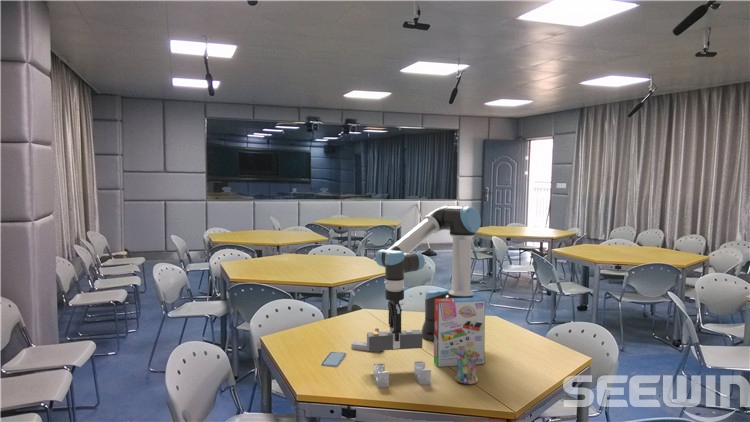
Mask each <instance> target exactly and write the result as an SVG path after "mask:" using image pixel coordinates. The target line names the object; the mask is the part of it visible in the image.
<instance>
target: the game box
mask: <svg viewBox="0 0 750 422" xmlns="http://www.w3.org/2000/svg"><path fill="white" fill-rule="evenodd" d="M485 332H486V299H484V298H483V297H481V296H480V297H479V296H478V297H473V298H447V299H435V317H434V341H433V350H434V351H433V363H434V365H435V366H436V367H437V368H440V367H443V368H444V367H458V364H457V359H456V356H455V352H456V351H458V350H472V351H475V352H477V353H479V355H480V356H479V358H478V361H477V364H476V365H485V362H486V361H485V358H486V357H485V356H486V354H485V350H486V349H485V340H486V339H485V337H486V336H485Z"/></svg>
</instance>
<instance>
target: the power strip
mask: <svg viewBox="0 0 750 422" xmlns="http://www.w3.org/2000/svg"><path fill="white" fill-rule="evenodd" d="M401 331H402V332H401V333H400V349H393V333H392V332H393V331H390V330H389V331H387V330H386V331H379V332H377V331H375V330H374V331H370V332H366V342H367V348H368V350H369V351H368V352H377V351H378V352H382V351H396V350H397V351H398V350H412V349H413V350H414V349H415V350H416V349H423V343H424V342H423V339H424V338H423V333H422V332H421V329H408V330H404V329H403V330H401Z"/></svg>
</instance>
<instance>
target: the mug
mask: <svg viewBox="0 0 750 422" xmlns="http://www.w3.org/2000/svg"><path fill="white" fill-rule="evenodd" d="M455 356H456V359H457V364H458V366H457V372H456V374H455V377H454V379H455V381H457V382H458V383H460V384H463V385H474V384H476V383H477V382H478V381H479V378H478V377H477V365H478V364H477V361H478V358H479V356H480V355H479V353H477V352H475V351H472V350H458V351H456V352H455Z"/></svg>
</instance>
